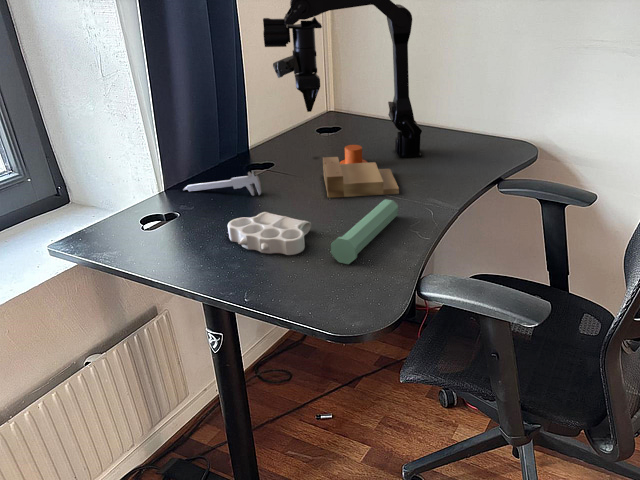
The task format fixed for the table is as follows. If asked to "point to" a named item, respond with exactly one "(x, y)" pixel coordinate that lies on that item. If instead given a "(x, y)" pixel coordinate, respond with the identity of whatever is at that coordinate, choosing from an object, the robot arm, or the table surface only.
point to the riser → (357, 179)
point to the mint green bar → (363, 232)
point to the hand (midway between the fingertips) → (308, 106)
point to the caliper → (230, 184)
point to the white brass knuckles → (269, 233)
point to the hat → (353, 155)
